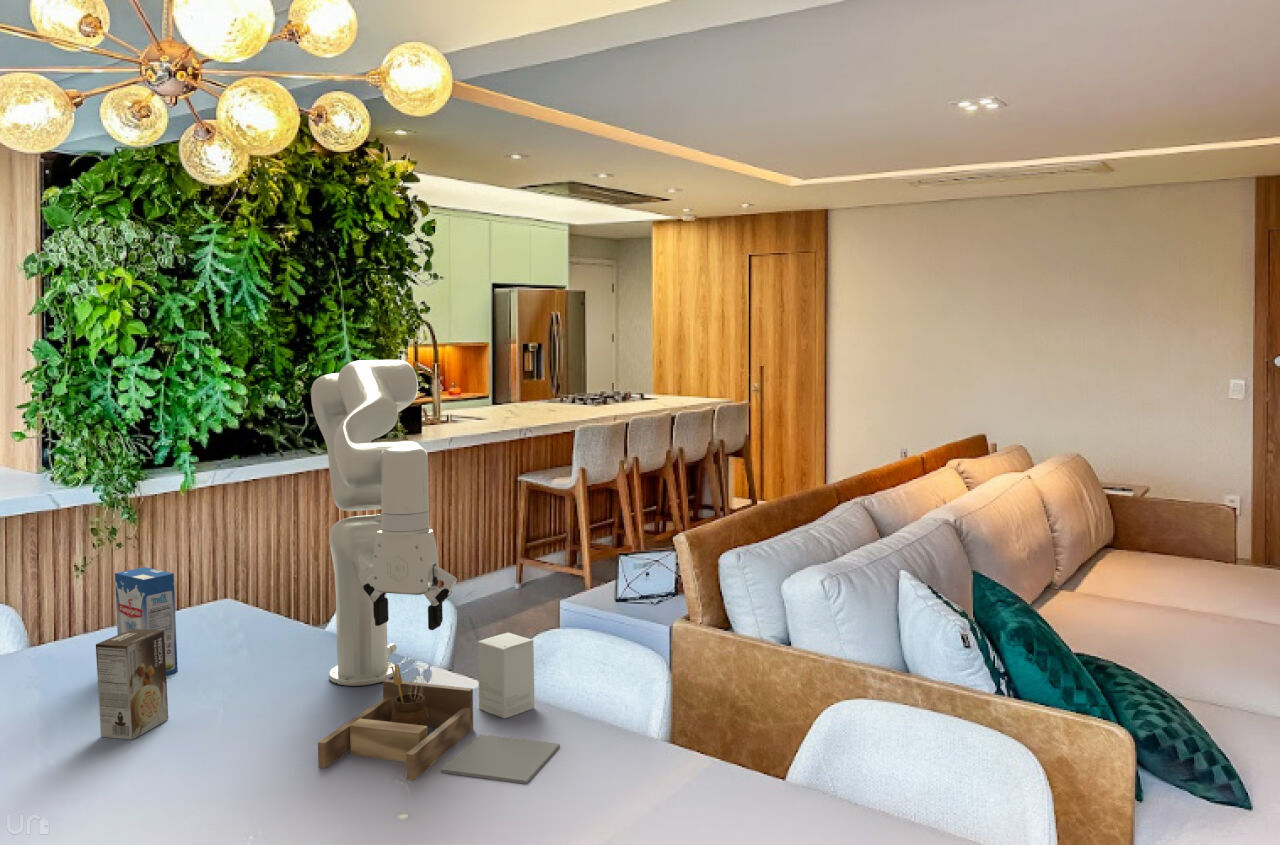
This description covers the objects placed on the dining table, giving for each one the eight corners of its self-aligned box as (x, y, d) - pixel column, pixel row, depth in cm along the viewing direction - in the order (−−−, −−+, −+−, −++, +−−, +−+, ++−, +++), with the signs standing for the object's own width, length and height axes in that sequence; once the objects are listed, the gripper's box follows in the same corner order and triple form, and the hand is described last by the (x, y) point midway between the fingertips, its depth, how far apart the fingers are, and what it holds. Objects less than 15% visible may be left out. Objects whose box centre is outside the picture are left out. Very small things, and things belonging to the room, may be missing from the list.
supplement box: (535, 708, 178) (535, 639, 177) (503, 719, 173) (502, 649, 172) (509, 698, 183) (508, 631, 182) (477, 708, 178) (476, 640, 177)
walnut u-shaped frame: (387, 718, 173) (386, 679, 173) (473, 728, 169) (472, 688, 168) (318, 767, 154) (317, 723, 153) (413, 780, 149) (412, 735, 149)
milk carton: (177, 672, 197) (174, 573, 195) (148, 681, 192) (143, 579, 190) (148, 663, 202) (144, 566, 200) (119, 672, 197) (114, 573, 195)
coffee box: (137, 717, 174) (133, 627, 172) (169, 719, 172) (166, 629, 171) (98, 737, 165) (94, 643, 163) (132, 740, 164) (128, 645, 162)
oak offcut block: (360, 748, 161) (360, 718, 161) (428, 756, 158) (427, 726, 158) (350, 755, 158) (350, 725, 158) (419, 764, 155) (418, 733, 155)
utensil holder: (410, 749, 160) (409, 677, 159) (382, 741, 164) (381, 670, 163) (436, 737, 165) (435, 667, 164) (408, 729, 169) (407, 660, 168)
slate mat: (480, 737, 165) (480, 734, 165) (559, 746, 161) (559, 743, 161) (441, 772, 152) (441, 769, 152) (526, 783, 148) (526, 780, 148)
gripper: (345, 524, 160) (348, 628, 161) (443, 528, 155) (445, 636, 156) (370, 516, 167) (373, 616, 168) (464, 520, 162) (466, 623, 164)
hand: (408, 625), depth 162 cm, fingers open, 9 cm apart
